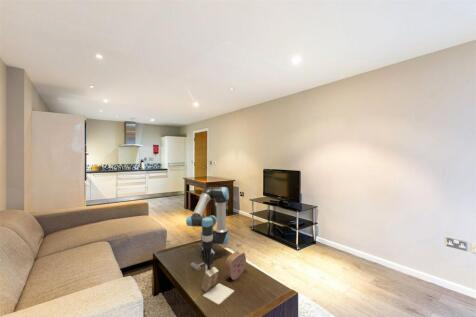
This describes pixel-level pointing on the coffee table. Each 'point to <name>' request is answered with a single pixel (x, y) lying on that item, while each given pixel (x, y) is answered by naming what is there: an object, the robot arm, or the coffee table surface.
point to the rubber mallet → (197, 267)
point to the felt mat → (218, 293)
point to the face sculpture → (235, 265)
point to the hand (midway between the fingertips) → (207, 273)
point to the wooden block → (209, 279)
